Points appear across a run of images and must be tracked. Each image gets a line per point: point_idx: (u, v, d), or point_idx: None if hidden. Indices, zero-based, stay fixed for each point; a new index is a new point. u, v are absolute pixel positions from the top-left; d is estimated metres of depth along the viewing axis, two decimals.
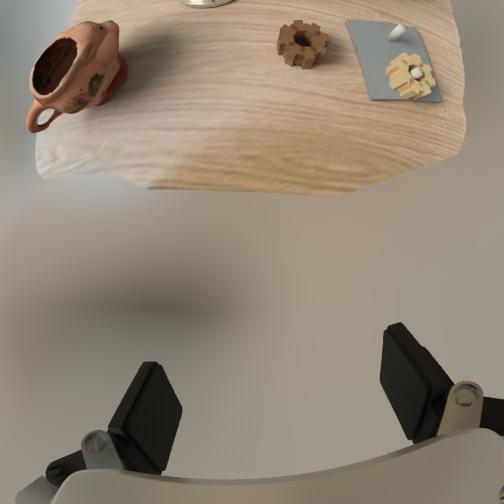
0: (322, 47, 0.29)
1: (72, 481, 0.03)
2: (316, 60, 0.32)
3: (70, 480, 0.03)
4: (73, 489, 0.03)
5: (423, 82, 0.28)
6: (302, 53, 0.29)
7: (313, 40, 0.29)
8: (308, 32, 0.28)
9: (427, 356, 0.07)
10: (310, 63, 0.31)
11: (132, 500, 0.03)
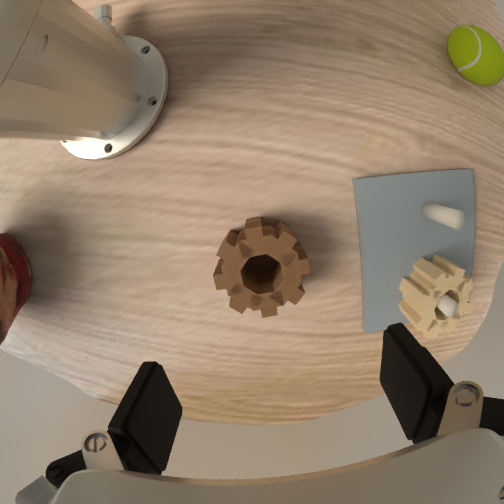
0: (294, 290, 0.20)
1: (72, 481, 0.03)
2: None
3: (70, 480, 0.03)
4: (73, 489, 0.03)
5: (450, 317, 0.20)
6: (255, 307, 0.21)
7: (281, 267, 0.21)
8: None
9: (427, 356, 0.07)
10: None
11: (132, 500, 0.03)
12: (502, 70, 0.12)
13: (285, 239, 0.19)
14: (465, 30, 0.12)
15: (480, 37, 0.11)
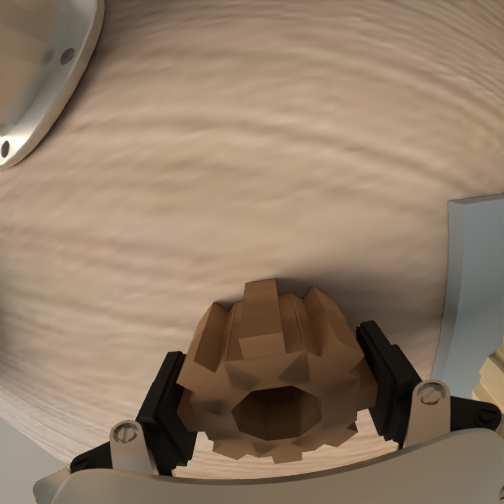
0: (340, 431, 0.08)
1: (72, 481, 0.03)
2: None
3: (70, 480, 0.03)
4: (73, 489, 0.03)
5: None
6: (262, 454, 0.09)
7: None
8: None
9: (394, 353, 0.08)
10: None
11: (132, 500, 0.03)
12: None
13: (338, 356, 0.07)
14: None
15: None
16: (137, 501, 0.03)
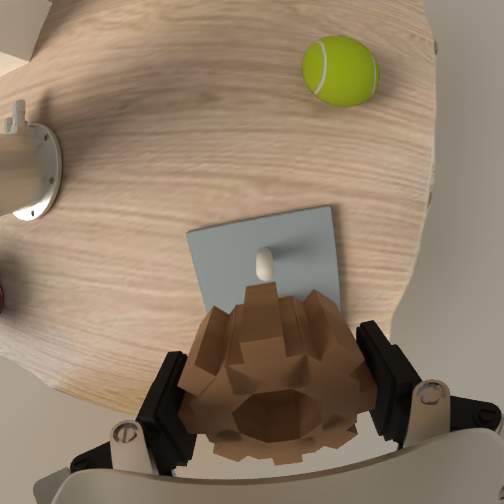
0: (340, 433, 0.08)
1: (72, 481, 0.03)
2: None
3: (70, 480, 0.03)
4: (73, 489, 0.03)
5: None
6: (262, 456, 0.09)
7: None
8: None
9: (394, 353, 0.08)
10: None
11: (132, 500, 0.03)
12: (364, 83, 0.17)
13: (338, 360, 0.07)
14: None
15: (328, 51, 0.16)
16: (137, 501, 0.03)
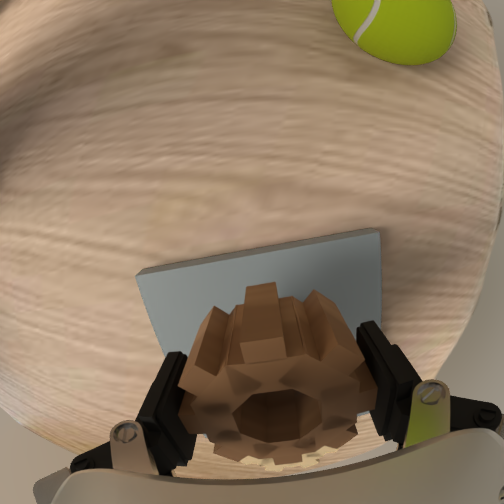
0: (340, 433, 0.08)
1: (72, 481, 0.03)
2: None
3: (70, 480, 0.03)
4: (73, 489, 0.03)
5: None
6: (263, 456, 0.09)
7: None
8: None
9: (394, 353, 0.08)
10: None
11: (132, 500, 0.03)
12: (444, 25, 0.06)
13: (338, 360, 0.07)
14: None
15: None
16: (137, 501, 0.03)
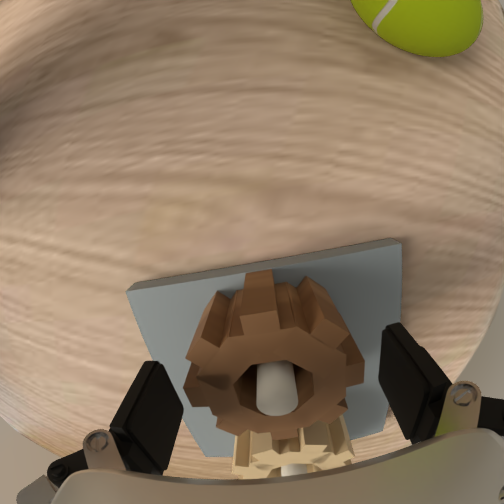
0: (331, 407, 0.10)
1: (72, 481, 0.03)
2: None
3: (70, 480, 0.03)
4: (73, 489, 0.03)
5: None
6: (261, 430, 0.10)
7: None
8: None
9: (425, 356, 0.07)
10: None
11: (132, 500, 0.03)
12: (473, 13, 0.04)
13: (325, 333, 0.09)
14: None
15: None
16: (137, 501, 0.03)
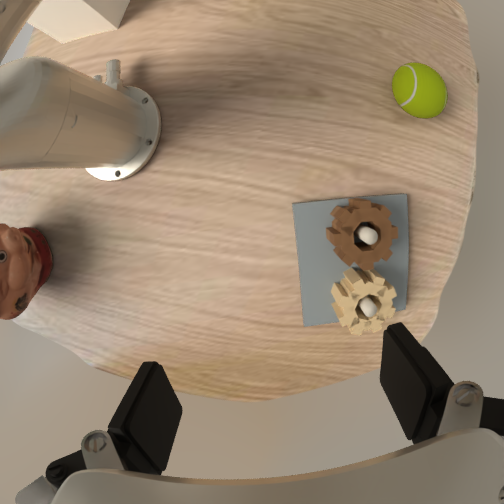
0: (387, 250, 0.26)
1: (72, 481, 0.03)
2: None
3: (70, 480, 0.03)
4: (73, 489, 0.03)
5: (374, 318, 0.28)
6: (359, 262, 0.26)
7: (377, 233, 0.26)
8: (374, 223, 0.26)
9: (427, 356, 0.07)
10: None
11: (132, 500, 0.03)
12: (440, 103, 0.21)
13: (384, 211, 0.25)
14: (405, 69, 0.21)
15: (417, 75, 0.20)
16: (137, 501, 0.03)
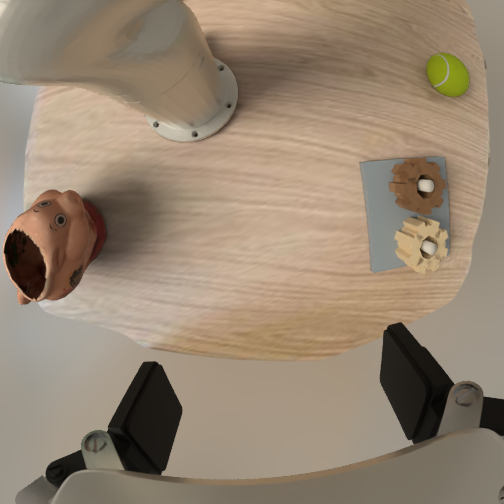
0: (439, 198, 0.28)
1: (72, 481, 0.03)
2: None
3: (70, 480, 0.03)
4: (73, 489, 0.03)
5: (433, 257, 0.30)
6: (421, 207, 0.29)
7: None
8: (429, 176, 0.28)
9: (427, 356, 0.07)
10: None
11: (132, 500, 0.03)
12: (465, 85, 0.23)
13: (435, 167, 0.27)
14: (438, 58, 0.23)
15: (449, 63, 0.22)
16: (137, 501, 0.03)
